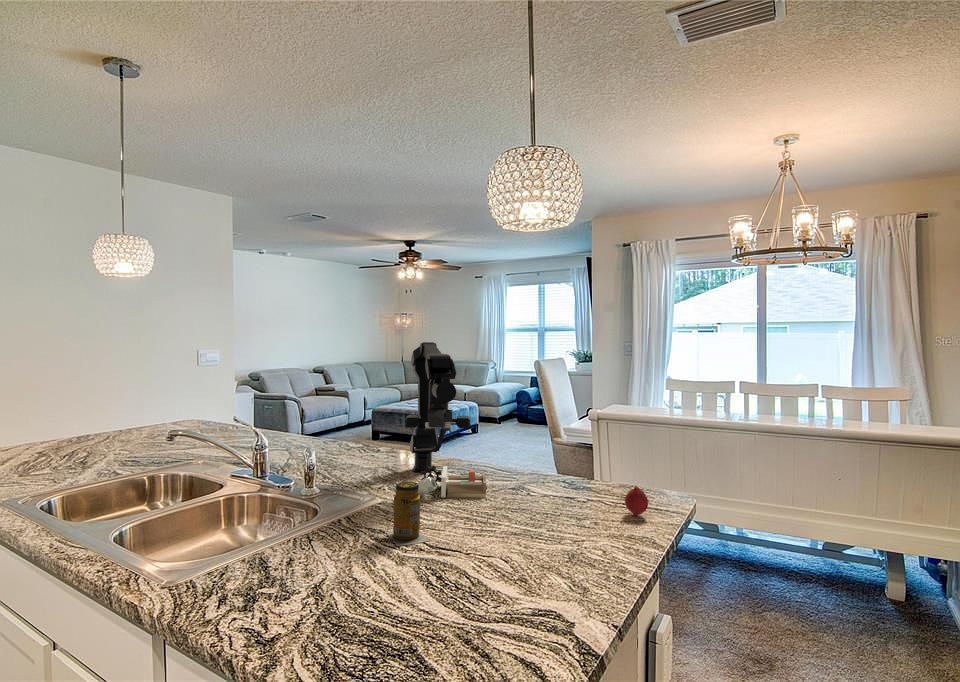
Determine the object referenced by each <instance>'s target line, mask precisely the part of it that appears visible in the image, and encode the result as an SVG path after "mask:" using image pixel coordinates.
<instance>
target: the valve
mask: <svg viewBox="0 0 960 682" xmlns="http://www.w3.org/2000/svg"><path fill="white" fill-rule="evenodd" d="M425 469H426V471H422V472H420V475H421V476H423V477H422V478H421V479H420V480H419V481H418V482H416V483H417V484H418V485H419V489H418V490H419V496H420V497H421V496H427V495H428V494H429V493H432V492H434V491H436V490H437V487H438V483H442V477H440V476H442V470H438V471H437V470H436V469H437V466H436V465H433V467H432V469H430V467H429V466H426V468H425ZM429 471H430V472H429ZM428 473H429V474H428ZM435 475H436V478H435ZM437 482H438V483H437Z"/></svg>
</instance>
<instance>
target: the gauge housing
mask: <svg viewBox="0 0 960 682" xmlns="http://www.w3.org/2000/svg"><path fill="white" fill-rule="evenodd" d="M481 474H482V475H475V480H482V482H472V481H461V482H459V481H448V488H447V489H446V494H447V495H446V497H447V498H476V499H477V498H483V499H484V498H485V499H486V498H487V480H486V479H487V478H486V474H485V473H481ZM447 480H469V474H460V475H459V474H458V475H453V474H451V475H450V474H449V475H448V476H447Z"/></svg>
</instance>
